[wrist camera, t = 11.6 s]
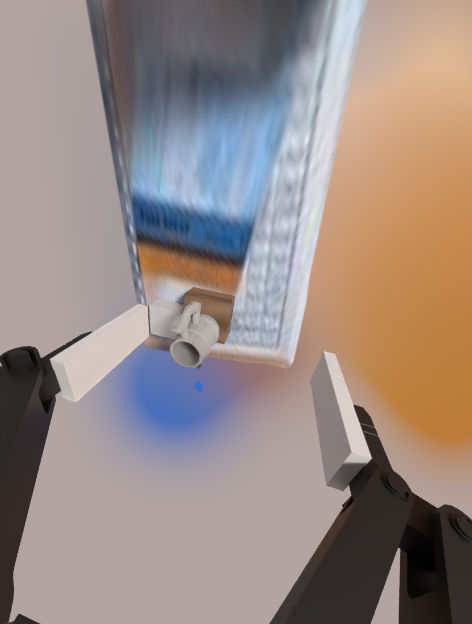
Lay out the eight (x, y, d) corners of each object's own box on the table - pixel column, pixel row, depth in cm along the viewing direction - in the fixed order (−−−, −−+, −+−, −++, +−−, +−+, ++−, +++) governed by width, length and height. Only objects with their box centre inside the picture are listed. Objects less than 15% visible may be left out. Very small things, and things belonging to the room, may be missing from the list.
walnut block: (193, 287, 47) (184, 294, 43) (234, 296, 46) (229, 304, 42) (191, 323, 52) (182, 333, 47) (229, 333, 51) (224, 344, 46)
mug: (190, 341, 48) (164, 376, 37) (183, 293, 43) (150, 318, 32) (222, 344, 46) (203, 381, 36) (217, 294, 41) (195, 321, 31)
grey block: (158, 298, 51) (149, 304, 47) (188, 305, 50) (181, 312, 46) (159, 325, 54) (150, 333, 51) (187, 332, 53) (180, 341, 50)
